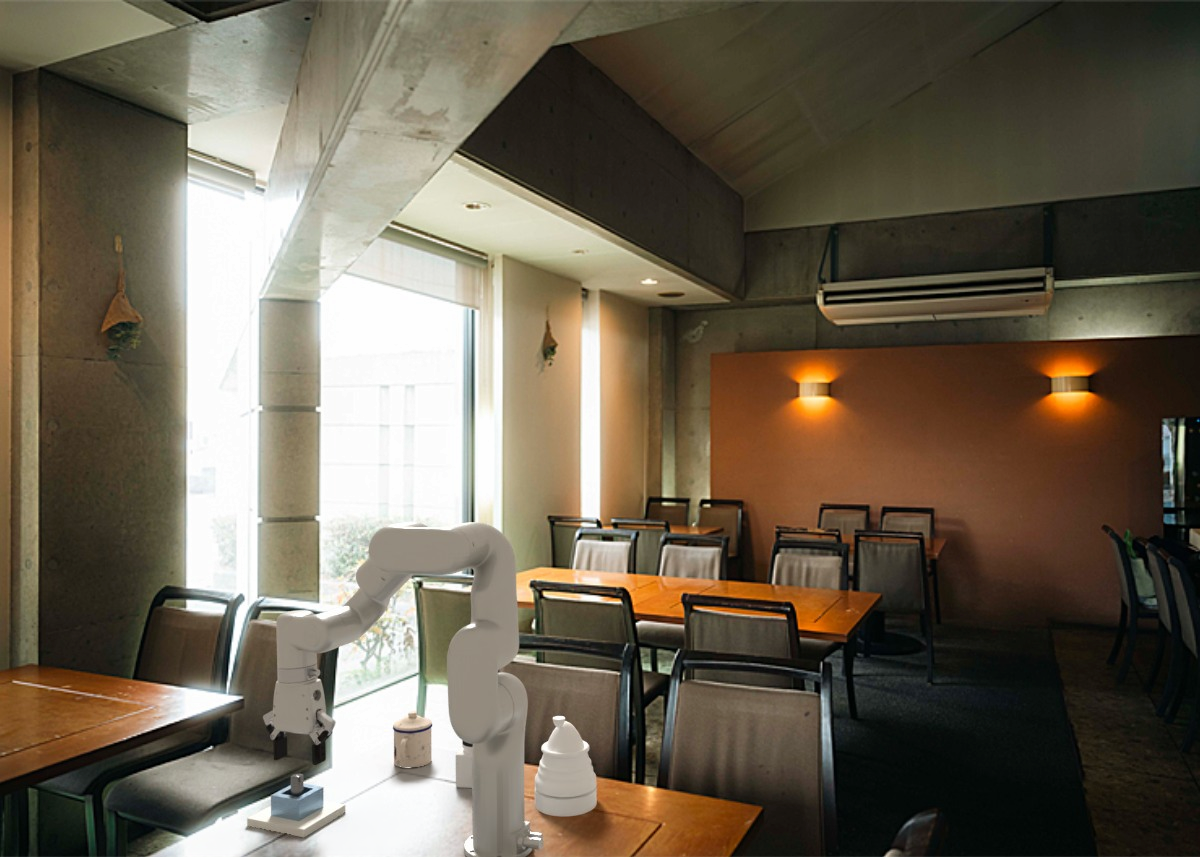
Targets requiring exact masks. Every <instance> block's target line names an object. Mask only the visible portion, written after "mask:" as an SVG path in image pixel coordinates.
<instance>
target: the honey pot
mask: <svg viewBox="0 0 1200 857" xmlns="http://www.w3.org/2000/svg"><path fill="white" fill-rule="evenodd" d="M552 722H553V725H554V726H555V728H554V729H553V730H552V732H551V734H550V736H549V738H548V741H546V742H544V743H543V744H542V745H541V748H540V750H541V752H542V753H543V754H542V756H541V759H540V760H539V766H538V767H537V773H535V776H534V807H535V809H537V811H539V812H540V813H543V814H544V815H548V816H553V817H573V816H580V815H584V814H587V813H589V812H591V811H592V810H593V809H595V808H596V806H597V804H598V803H597V802H598V801H597V797H598V796H597V795H598V794H597V791H598V790H597V789H598V788H597V775H596V773H595V772H594V767H593V764H592V759H591V758H590V757H589V751H590V744H589V743H588V742H587V741H585V740H583V739H582V736H581V735H580V732H579V731H578V729H576V727H575V726H574V725H573V724H572V723H571V722H569V721H567V720H566V717H565V716H563V715H556V716H553V717H552Z"/></svg>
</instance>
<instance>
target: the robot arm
mask: <svg viewBox="0 0 1200 857" xmlns="http://www.w3.org/2000/svg"><path fill="white" fill-rule="evenodd" d="M368 556H369V557H368V558H367V559H366V560H365V561H364V562H363V563H362V564H361V565H360V566H359V567H358V568H357V571H356V572H355V581H356V584H357V585H358V588H359V589H358V590H356V592H355V593H354V594H353V595H352V596H351V597H350V598H349V600H348V601H346V602H345V603H344V604H343V605H342V606H340V607H337V608H334V609H333V608H332V609H329V610H326V611H323V612H320V613H319V612H318V613H316V614H315V613H314V612H313V611H311V610H307V609H306V610H304V609H302V610H301V609H300V610H291V611H290V610H289V611H285V612H282V613H281V614H279V615H278V616H277V618H276V621H275V622H276V624H275V627H276V630H275V631H276V634H275V635H276V659H277V660H276V665H277V666H276V670H277V680H276V682H275V686H274V692H273V701H272V703H273V704H272V710H270V711H268V712H267V713H265V714H263V716H262V720H263V721H264V724H265V726H266V731H267V732H268V733H269V737H270V740H272V741H273V742H272V743H273V747H272V748H273V760H274V761H279V760H280V759H283V758H285V757H287V756H288V735H286V733H290V734H298V735H299V734H301V735H309V737H310V738H311V740H312V741H313V742H314V743H313V744H312V745H311V756H312V757H311V758H312V759H311V762H312V763H311V764H312V765H313V766H317V765H319V764H321V763H323V762H325V761H326V759H327V753H326V752H327V750H326V748H327V746H326V745H327V744H326V741H328V740H329V738H330V737H331V736H332V734H333V730H334V728H335V726H336V723H337V722H336V720H335V719H333V717H331V716H330V715H329V714H327V707H326V699H325V698H326V697H325V692H324V687H323V683H322V680H321V679H320V678H318V677H319V676H320V675H321V670H320V669H318V655H317V654H322V653H327V652H329V651H332V650H336V649H337V648H339V647H343V646H346V645H349V644H351V643H353V642H354V643H355V641H357V640H358V639H359V638H361V637H363V635H364V634H366V632H368V631H369V630H370V629H371V628H372V627H373V626H374V625H375V624H376V623H377V622H378V621H379V619H380V618H382V616H384V613H385V612H386V610H387V608H388V606H389V604H390V602H391V598H392V597H394V595H395V594H396V593H397V592H398V591H399V590H401V589H402V587H403V586H404V585H405V584H406V583H407V582H408V581H409V580H411V578H412V577H413V576H414V575H427V576H429V575H430V576H431V575H432V576H446V575H453V574H456V573H459V572H463V571H467V570H470V569H472V570H473V574H474V575H473V580H472V584H471V590H470V608H471V609H470V610H471V611H470V612H471V614H470V615H471V616H470V622H469V623H470V624H467V625H465V626H463V627H461V629H459V630H458V631H457V632H456V633H455V634H454V635H453V637H451V638H452V639H451V640H450V643H449V646H448V649H447V655H446V676H447V678H446V679H447V702H448V704H447V705H448V715H449V722H450V724H451V727H452V730H453V731H454V733H455V735H456V736H457V737H458V738H459V739H460V740H463V741H465V742H467V743H470V744H473V748H472V788H471V790H472V791H471V792H472V795H471V796H472V797H471V800H472V801H471V804H472V805H471V807H472V808H471V810H472V811H471V812H472V813H471V814H472V815H471V816H472V817H471V818H472V819H471V820H472V823H471V825H472V835H470V836H469V837H468V838H467V839H466V840H465V841H464V844H463V853H464V855H465V856H466V857H527V856H528V855H529V854H530V853H531V852H532V851H533V850H537V851H541V850H543V847H544V839H543V838H544V834H543V833H542V832H537V831H535V832H534V831H532V830H531V826H530V825H531V822H530V821H527V820H525V819H526V818H525V813H526V812H525V736H526V726H527V724H526V723H527V716H528V708H529V707H528V706H529V704H528V703H529V702H528V693H527V690H526V688H525V685H524V683H523V682H522V681H521V680H520V679H519V678H518V677H517V676H516V675H514V674H512V673H509V672H499V670H501V669H502V668H504V667H506V666H508V665H509V664H510V663H512V662H513V661H514V660H515V658H516V657H517V654H518V653H519V649H520V633H519V632H520V631H519V611H518V610H519V609H518V608H519V607H518V597H517V596H518V594H517V563H516V557H515V551H514V549H513V547H512V545H511V542H510V541H509V539H508V538H507V537H506V535H504V534H503V533H502V531H500V530H499V529H497V528H496V527H494V526H492V525H489V524H487V523H484V522H474V521H473V522H470V521H469V522H463V523H458V524H455V525H454V524H453V525H449V526H448V525H447V526H443V527H442V526H441V527H440V526H439V527H429V526H428V525H426V524H424V523H422V522H418V521H417V522H416V521H408V522H407V521H406V522H400V523H394V524H390V525H385V526H383V527H382V528H380V529H378V531H377V530H376V532H375V533H374V534H373V536H372V537H371V539H370V542H369V545H368Z"/></svg>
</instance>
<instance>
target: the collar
mask: <svg viewBox="0 0 1200 857" xmlns="http://www.w3.org/2000/svg"><path fill="white" fill-rule="evenodd" d="M323 801H324V787H323V786H319V785H313V784H307V783H303V795H301V796H299V797H296V796H291V784H290V785H288V786H286V787H283V788H281V789H280V790H278V791H277V792H275V793H273V794H271V795H270V806H271V816H275V817H280V818H285V819H290V820H295V821H300V820H302V819H304V818H305V817H307V816H309V815H311V814H312V813H314V812H316V811H318V810H319V809H321V808H323V807H324V802H323Z"/></svg>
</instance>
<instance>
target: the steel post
mask: <svg viewBox="0 0 1200 857" xmlns="http://www.w3.org/2000/svg"><path fill="white" fill-rule="evenodd" d="M303 784H304V774H303V773H294V774H292V775H291V776H290V785H291V796H296V797H299V796H301V795H303Z"/></svg>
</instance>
